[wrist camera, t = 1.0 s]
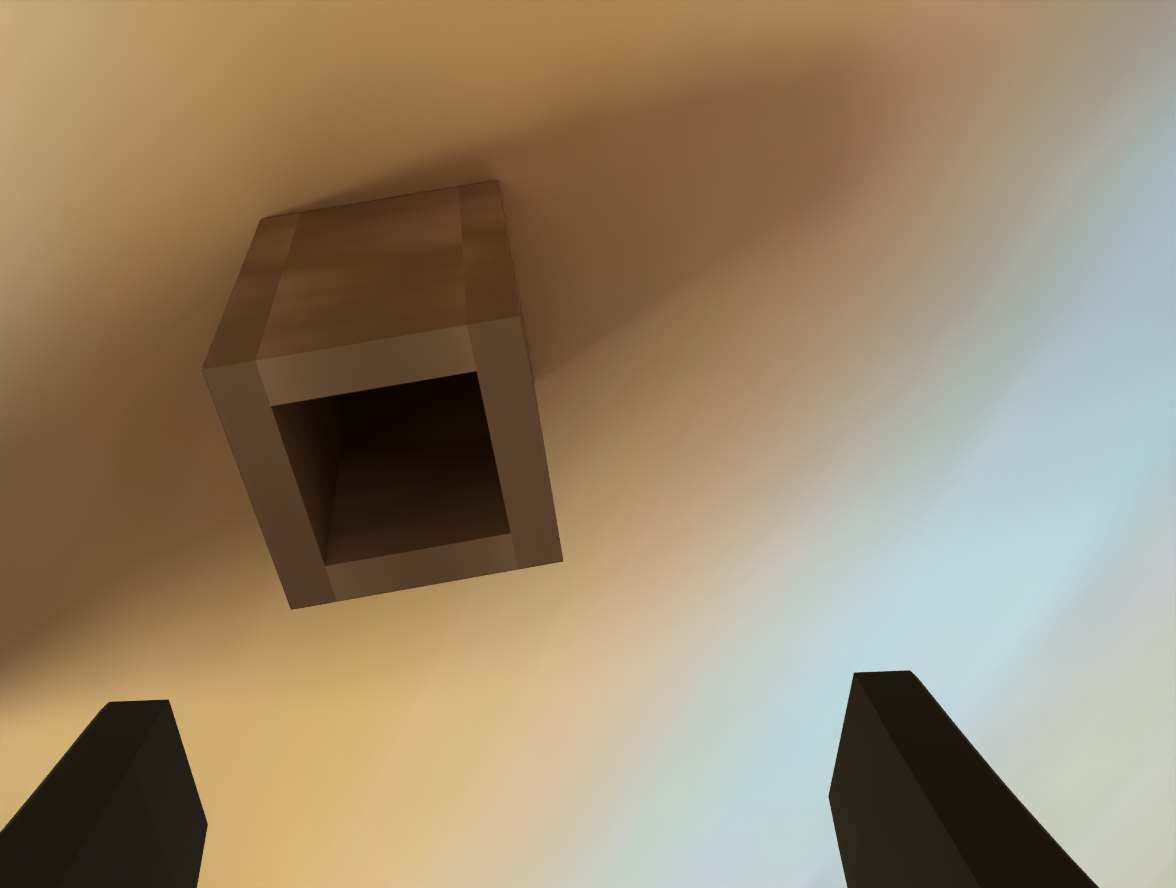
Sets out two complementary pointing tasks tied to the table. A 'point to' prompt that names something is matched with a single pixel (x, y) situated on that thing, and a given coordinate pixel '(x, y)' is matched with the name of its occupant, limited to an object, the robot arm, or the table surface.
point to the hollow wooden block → (385, 397)
